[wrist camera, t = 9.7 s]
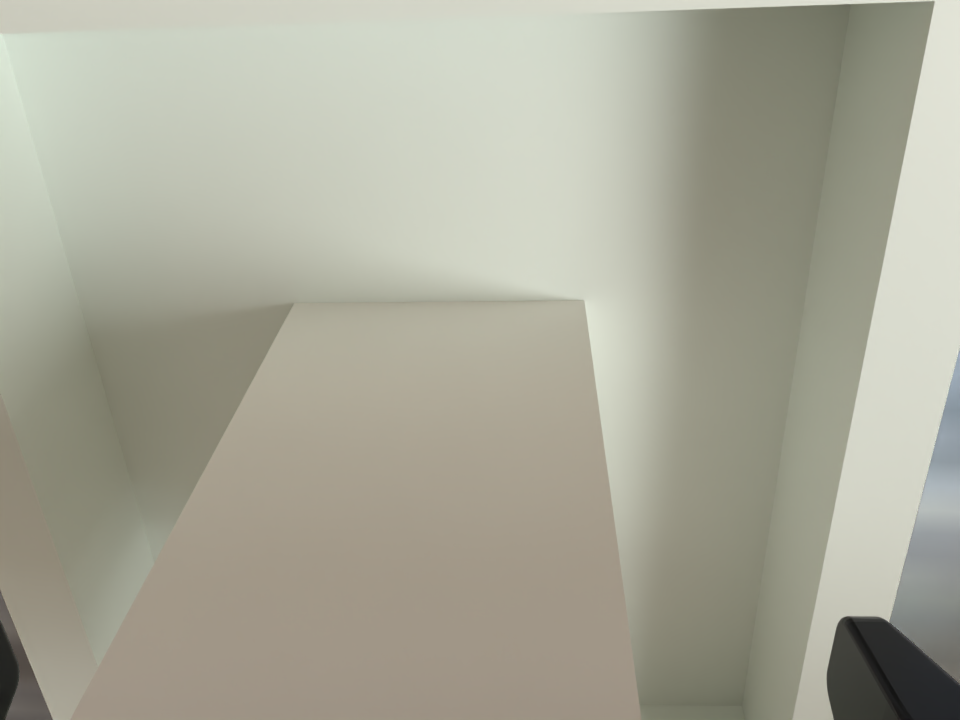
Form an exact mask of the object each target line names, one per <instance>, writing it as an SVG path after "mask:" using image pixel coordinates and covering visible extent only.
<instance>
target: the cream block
mask: <svg viewBox="0 0 960 720" xmlns="http://www.w3.org/2000/svg"><path fill="white" fill-rule="evenodd" d="M70 720H641V712H640V705H639V698H638V690H637V683H636V676H635V668H634V661H633V654H632V646H631V639H630V632H629V624H628V617H627V610H626V602H625V595H624V588H623V580H622V573H621V566H620V558H619V551H618V544H617V536H616V529H615V522H614V514H613V507H612V500H611V492H610V485H609V478H608V470H607V463H606V456H605V448H604V441H603V434H602V426H601V419H600V412H599V404H598V397H597V390H596V382H595V375H594V368H593V360H592V353H591V346H590V338H589V331H588V323H587V316H586V309H585V301H584V300H566V301H460V302H354V303H294V305H293V307H292V308H291V310H290V312H289V314H288V316H287V318H286V320H285V321H284V323H283V325H282V327H281V329H280V331H279V333H278V334H277V336H276V338H275V340H274V342H273V344H272V346H271V347H270V349H269V351H268V353H267V355H266V357H265V359H264V360H263V362H262V364H261V366H260V368H259V370H258V372H257V373H256V375H255V377H254V379H253V381H252V383H251V385H250V386H249V388H248V390H247V392H246V394H245V396H244V398H243V399H242V401H241V403H240V405H239V407H238V409H237V411H236V412H235V414H234V416H233V418H232V420H231V422H230V424H229V425H228V427H227V429H226V431H225V433H224V435H223V437H222V438H221V440H220V442H219V444H218V446H217V448H216V450H215V451H214V453H213V455H212V457H211V459H210V461H209V463H208V464H207V466H206V468H205V470H204V472H203V474H202V476H201V477H200V479H199V481H198V483H197V485H196V487H195V489H194V490H193V492H192V494H191V496H190V498H189V500H188V502H187V503H186V505H185V507H184V509H183V511H182V513H181V515H180V516H179V518H178V520H177V522H176V524H175V526H174V528H173V529H172V531H171V533H170V535H169V537H168V539H167V541H166V542H165V544H164V546H163V548H162V550H161V552H160V554H159V555H158V557H157V559H156V561H155V563H154V565H153V567H152V568H151V570H150V572H149V574H148V576H147V578H146V580H145V581H144V583H143V585H142V587H141V589H140V591H139V593H138V594H137V596H136V598H135V600H134V602H133V604H132V606H131V607H130V609H129V611H128V613H127V615H126V617H125V619H124V620H123V622H122V624H121V626H120V628H119V630H118V632H117V633H116V635H115V637H114V639H113V641H112V643H111V645H110V646H109V648H108V650H107V652H106V654H105V656H104V658H103V659H102V661H101V663H100V665H99V667H98V669H97V671H96V672H95V674H94V676H93V678H92V680H91V682H90V684H89V685H88V687H87V689H86V691H85V693H84V695H83V697H82V698H81V700H80V702H79V704H78V706H77V708H76V710H75V711H74V713H73V715H72V717H71V719H70Z"/></svg>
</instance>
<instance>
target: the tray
mask: <svg viewBox="0 0 960 720" xmlns="http://www.w3.org/2000/svg"><path fill="white" fill-rule="evenodd" d="M566 300H584V301H585V309H586V316H587V323H588V331H589V338H590V346H591V353H592V360H593V368H594V375H595V382H596V390H597V397H598V404H599V412H600V419H601V426H602V434H603V441H604V448H605V456H606V463H607V470H608V478H609V485H610V492H611V500H612V507H613V514H614V522H615V529H616V536H617V544H618V551H619V558H620V566H621V573H622V580H623V588H624V595H625V602H626V610H627V617H628V624H629V632H630V639H631V646H632V654H633V661H634V668H635V676H636V683H637V690H638V698H639V705H640V712H641V720H834V719H833V714H832V710H831V706H830V701H829V697H828V691H827V680H826V678H827V668H828V664H829V659H830V654H831V650H832V645H833V641H834V636H835V631H836V627H837V624H838V622H839V621H840V619H841V618H843V617H846V616H877V617H881V618H883V619H885V620H887V621H888V622H889V621H890V617H891V613H892V609H893V605H894V602H895V598H896V594H897V590H898V586H899V582H900V578H901V574H902V570H903V566H904V563H905V559H906V555H907V551H908V547H909V543H910V539H911V535H912V531H913V528H914V524H915V520H916V516H917V512H918V508H919V504H920V500H921V496H922V493H923V489H924V485H925V481H926V477H927V473H928V469H929V465H930V461H931V458H932V454H933V450H934V446H935V442H936V438H937V434H938V430H939V426H940V422H941V419H942V415H943V411H944V407H945V403H946V399H947V395H948V391H949V387H950V384H951V380H952V376H953V372H954V368H955V364H956V360H957V356H958V352H959V349H960V0H0V591H1V593H2V596H3V598H4V601H5V603H6V606H7V608H8V611H9V613H10V616H11V618H12V620H13V623H14V625H15V628H16V630H17V633H18V635H19V638H20V640H21V643H22V645H23V647H24V650H25V652H26V655H27V657H28V660H29V662H30V665H31V667H32V669H33V672H34V674H35V677H36V679H37V682H38V684H39V687H40V689H41V692H42V694H43V696H44V699H45V701H46V704H47V706H48V709H49V711H50V714H51V716H52V719H53V720H70V719H71V717H72V715H73V713H74V711H75V710H76V708H77V706H78V704H79V702H80V700H81V698H82V697H83V695H84V693H85V691H86V689H87V687H88V685H89V684H90V682H91V680H92V678H93V676H94V674H95V672H96V671H97V669H98V667H99V665H100V663H101V661H102V659H103V658H104V656H105V654H106V652H107V650H108V648H109V646H110V645H111V643H112V641H113V639H114V637H115V635H116V633H117V632H118V630H119V628H120V626H121V624H122V622H123V620H124V619H125V617H126V615H127V613H128V611H129V609H130V607H131V606H132V604H133V602H134V600H135V598H136V596H137V594H138V593H139V591H140V589H141V587H142V585H143V583H144V581H145V580H146V578H147V576H148V574H149V572H150V570H151V568H152V567H153V565H154V563H155V561H156V559H157V557H158V555H159V554H160V552H161V550H162V548H163V546H164V544H165V542H166V541H167V539H168V537H169V535H170V533H171V531H172V529H173V528H174V526H175V524H176V522H177V520H178V518H179V516H180V515H181V513H182V511H183V509H184V507H185V505H186V503H187V502H188V500H189V498H190V496H191V494H192V492H193V490H194V489H195V487H196V485H197V483H198V481H199V479H200V477H201V476H202V474H203V472H204V470H205V468H206V466H207V464H208V463H209V461H210V459H211V457H212V455H213V453H214V451H215V450H216V448H217V446H218V444H219V442H220V440H221V438H222V437H223V435H224V433H225V431H226V429H227V427H228V425H229V424H230V422H231V420H232V418H233V416H234V414H235V412H236V411H237V409H238V407H239V405H240V403H241V401H242V399H243V398H244V396H245V394H246V392H247V390H248V388H249V386H250V385H251V383H252V381H253V379H254V377H255V375H256V373H257V372H258V370H259V368H260V366H261V364H262V362H263V360H264V359H265V357H266V355H267V353H268V351H269V349H270V347H271V346H272V344H273V342H274V340H275V338H276V336H277V334H278V333H279V331H280V329H281V327H282V325H283V323H284V321H285V320H286V318H287V316H288V314H289V312H290V310H291V308H292V307H293V305H294V303H354V302H460V301H566Z"/></svg>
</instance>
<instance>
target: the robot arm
mask: <svg viewBox="0 0 960 720" xmlns="http://www.w3.org/2000/svg"><path fill="white" fill-rule="evenodd" d="M826 680H827V691H828V697H829V701H830V706H831V710H832V714H833V719H834V720H960V684H959V683H958V682H957V681H956V680H954V679H953V678H952V677H951V676H950V675H949V674H948V673H946V672H945V671H944V670H943V669H942V668H941V667H940V666H938V665H937V664H936V663H935V662H934V661H933V660H932V659H930V658H929V657H928V656H927V655H926V654H925V653H924V652H923V651H921V650H920V649H919V648H918V647H917V646H916V645H915V644H913V643H912V642H911V641H910V640H909V639H908V638H907V637H905V636H904V635H903V634H902V633H901V632H900V631H899V630H897V629H896V628H895V627H894V626H893V625H892V624H891V623H889V622H888V621H887V620H885V619H883V618H881V617H877V616H846V617H843V618H841V619H840V621H839V622H838V624H837V627H836V631H835V636H834V641H833V645H832V650H831V654H830V659H829V664H828V668H827V678H826ZM18 681H19V664H18V661H17V658H16V656H15V654H14V651H13V649H12V646H11V644H10V642H9V639H8V637H7V634H6V632H5V630H4V627H3V625H2V623H1V621H0V720H5V718H6V715H7V713H8V710H9V707H10V705H11V702H12V699H13V697H14V694H15V692H16V689H17V685H18Z"/></svg>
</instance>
